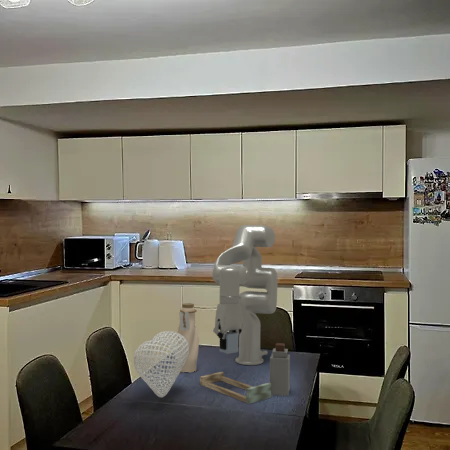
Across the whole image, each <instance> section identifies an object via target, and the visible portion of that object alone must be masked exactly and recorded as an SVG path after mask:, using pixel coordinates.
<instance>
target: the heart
mask: <svg viewBox="0 0 450 450" xmlns="http://www.w3.org/2000/svg"><path fill="white" fill-rule="evenodd" d="M178 337H179V339H178ZM181 338H182V339H181ZM183 340H184V341H183ZM178 341H179V342H180V344H179V343H178ZM181 341H182V343H181ZM186 342H187V340H186V339H185V338H184V337H183V336H182V335H181V334H179V333H178V332H176V331H172V330H165V331H161V332H159V333H156V335H154V336H153V337H152V338H151V339H149V340H145V342H142V343H141V344H140V345H139V346H138V347H137V348H136V349H135V352H134V354H133V364H134V369H135V370H136V373H137V374H138V375H139V377H140V378H141V379H142V380H143V381H144V382H145V383H146V384H147V386H148V387H149V388H150V389H151V391H153V393H154V394H155V395H156V396H157V397H158V398H165V396H167V394H168V393H169V392H170V390H171V388H172V387H173V385H174V383H175V382H176V380H177V378H178V376H179V375H180V373H181V372H180V371H181V370H182V368H183V366H184V364H185V363H186V360H187V358H188V355H189V344H188V342H187V343H186ZM183 343H184V346H183ZM181 346H182V348H181ZM186 346H187V348H186ZM179 347H180V349H181V350H180V349H179ZM184 348H185V349H186V351H185V349H184ZM183 349H184V351H183ZM187 351H188V353H187ZM181 352H182V354H181ZM183 352H184V353H183ZM180 354H181V356H180ZM184 356H185V357H184ZM171 357H172V358H171ZM182 357H183V359H182ZM185 359H186V360H185ZM167 362H168V363H167ZM170 362H171V363H170ZM180 366H181V367H180Z"/></svg>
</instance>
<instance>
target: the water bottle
mask: <svg viewBox="0 0 450 450" xmlns="http://www.w3.org/2000/svg"><path fill="white" fill-rule="evenodd" d="M181 305H182V307H181V309H180V310H179V313H178V314H179V324H178V327H177V333H179V334H181V335H182V336H183V337H184V338H185V339H186V340H187V342H188V344H189V355H188V358H187V360H186V359H185V360H186V363H185V364H184V366H183V368H182V370H181V371H180V373H184V372H189V374H190V373H194V371H195V372H196V371H197V361H198V356H199V350H200V349H199V343H200V339H199V338H200V337H199V331H198V328H197V325H196V313H197V309H196V308H195V304H194V303H191V302H189V303H188V302H186V303H182V304H181ZM177 338H178V339H179V337H178V336H177ZM181 339H182V338H181ZM183 341H184V340H183ZM187 342H186V343H187ZM178 343H179V344H180V342H179V341H178ZM181 343H182V341H181ZM183 346H184V343H183ZM181 348H182V346H181ZM186 348H187V346H186ZM179 349H180V347H179ZM179 349H178V350H179ZM184 349H185V348H184ZM184 349H183V351H184ZM180 350H181V349H180ZM185 351H186V349H185ZM183 353H184V352H183ZM187 353H188V351H187ZM181 354H182V352H181ZM181 354H180V356H181ZM184 357H185V356H184ZM182 359H183V357H182ZM180 367H181V366H180Z"/></svg>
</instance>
